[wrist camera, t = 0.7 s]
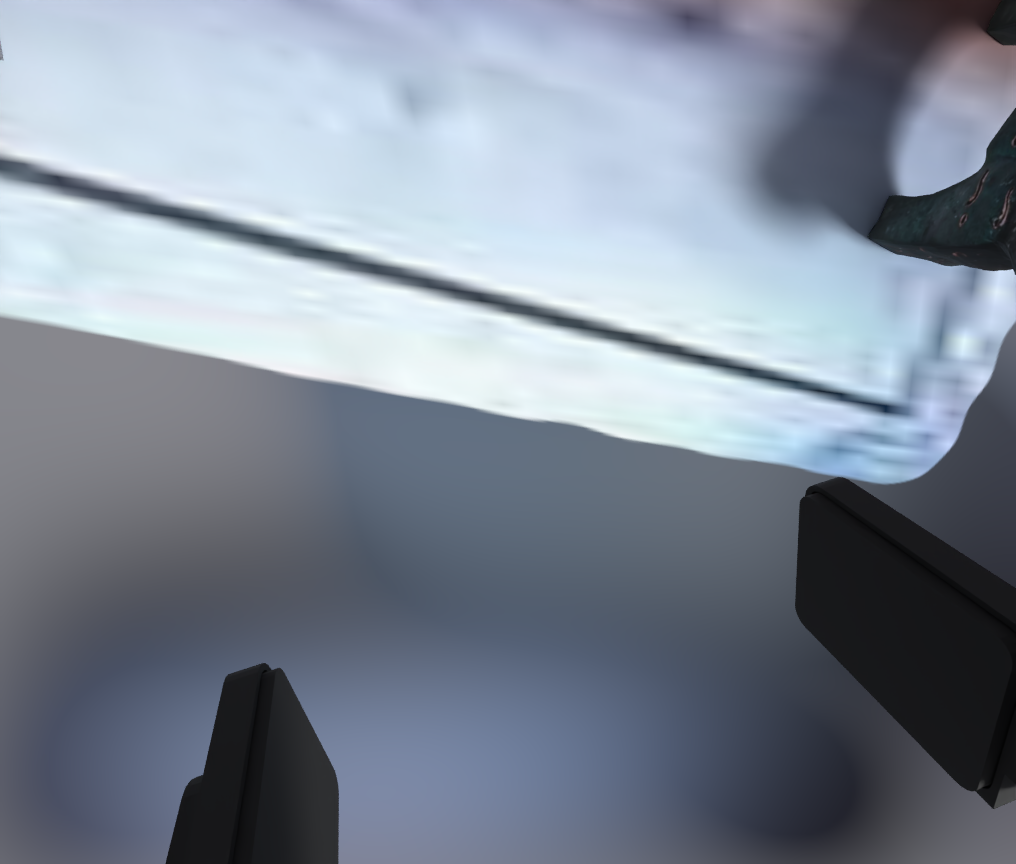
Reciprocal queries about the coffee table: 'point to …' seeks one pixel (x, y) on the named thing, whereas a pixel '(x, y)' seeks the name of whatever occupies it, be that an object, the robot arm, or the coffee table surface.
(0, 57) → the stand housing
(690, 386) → the coffee table surface
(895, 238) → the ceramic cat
